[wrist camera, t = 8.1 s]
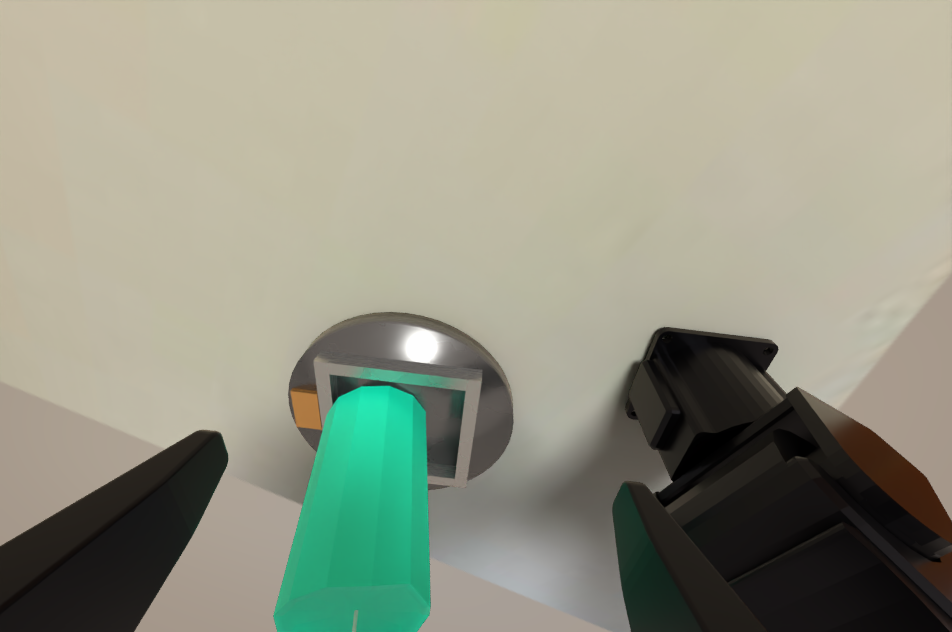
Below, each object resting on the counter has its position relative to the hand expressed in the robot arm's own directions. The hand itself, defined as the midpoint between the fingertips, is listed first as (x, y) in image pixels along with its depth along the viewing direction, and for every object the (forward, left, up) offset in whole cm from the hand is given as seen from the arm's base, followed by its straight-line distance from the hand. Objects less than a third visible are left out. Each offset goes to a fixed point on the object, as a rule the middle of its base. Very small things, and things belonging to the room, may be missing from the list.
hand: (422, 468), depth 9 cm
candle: (+4, +11, -12) cm, 16 cm away
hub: (+3, +11, -13) cm, 17 cm away
